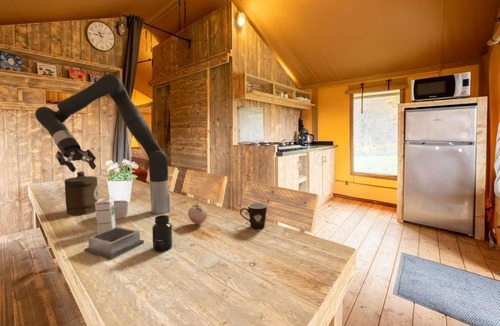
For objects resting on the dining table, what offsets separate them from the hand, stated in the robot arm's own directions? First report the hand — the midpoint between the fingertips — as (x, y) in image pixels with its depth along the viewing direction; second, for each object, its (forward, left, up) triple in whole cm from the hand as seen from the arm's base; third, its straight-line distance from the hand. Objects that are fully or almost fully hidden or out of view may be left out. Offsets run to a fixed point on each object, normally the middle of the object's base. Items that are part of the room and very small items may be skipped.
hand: (84, 169), depth 108 cm
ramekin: (-10, -12, -27) cm, 31 cm away
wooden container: (+6, -30, -27) cm, 41 cm away
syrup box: (-8, +9, -27) cm, 29 cm away
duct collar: (-12, +26, -27) cm, 39 cm away
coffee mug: (-68, +30, -27) cm, 79 cm away
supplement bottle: (-28, +35, -27) cm, 52 cm away
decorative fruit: (-46, +17, -27) cm, 56 cm away
